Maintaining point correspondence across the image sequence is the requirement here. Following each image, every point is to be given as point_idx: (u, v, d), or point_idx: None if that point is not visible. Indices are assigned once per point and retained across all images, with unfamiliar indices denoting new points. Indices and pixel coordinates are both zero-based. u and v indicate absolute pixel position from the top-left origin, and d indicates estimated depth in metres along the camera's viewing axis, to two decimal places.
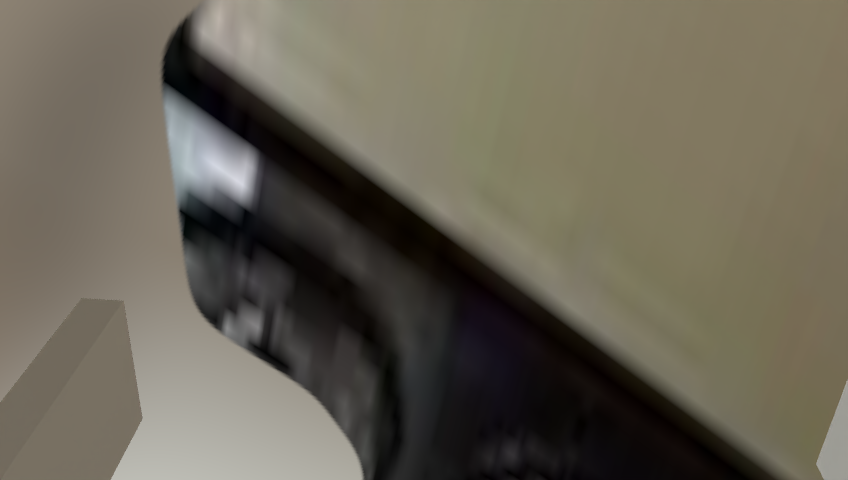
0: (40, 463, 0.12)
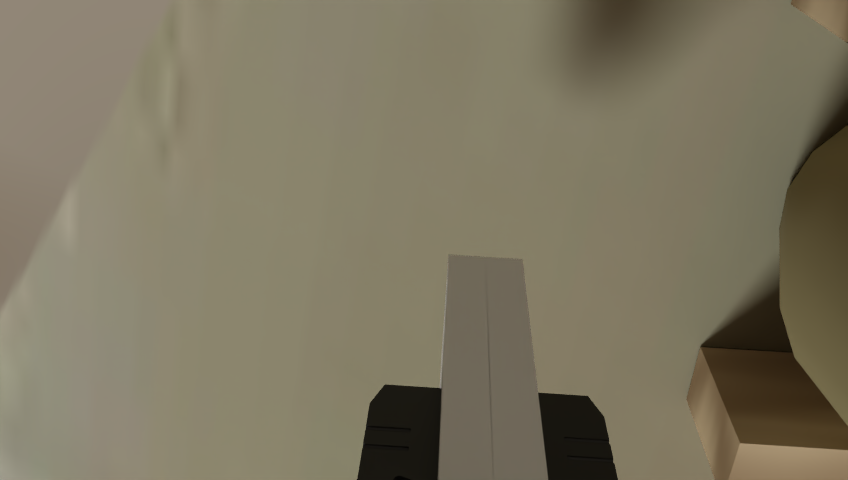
0: None
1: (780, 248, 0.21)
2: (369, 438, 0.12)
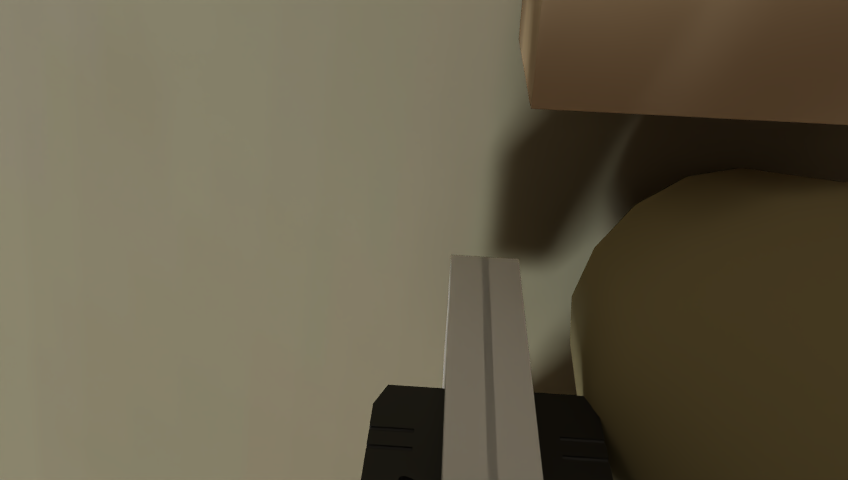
0: None
1: (575, 376, 0.16)
2: (372, 438, 0.12)
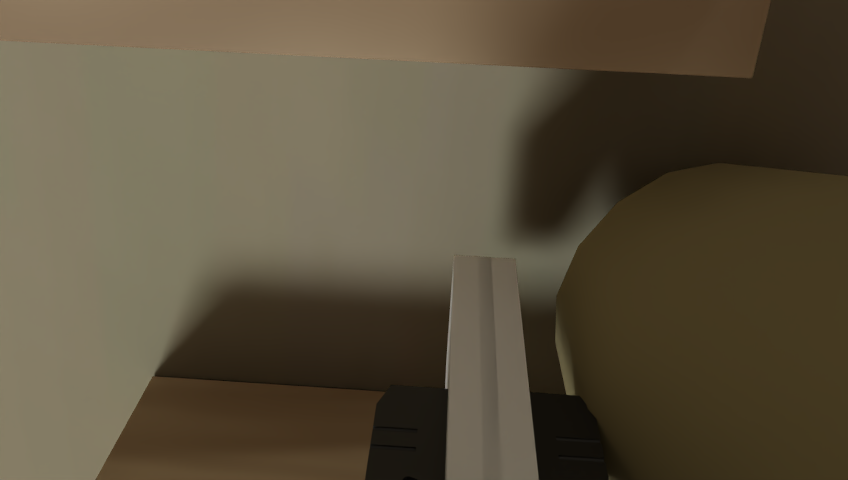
0: None
1: (563, 376, 0.16)
2: (376, 438, 0.12)
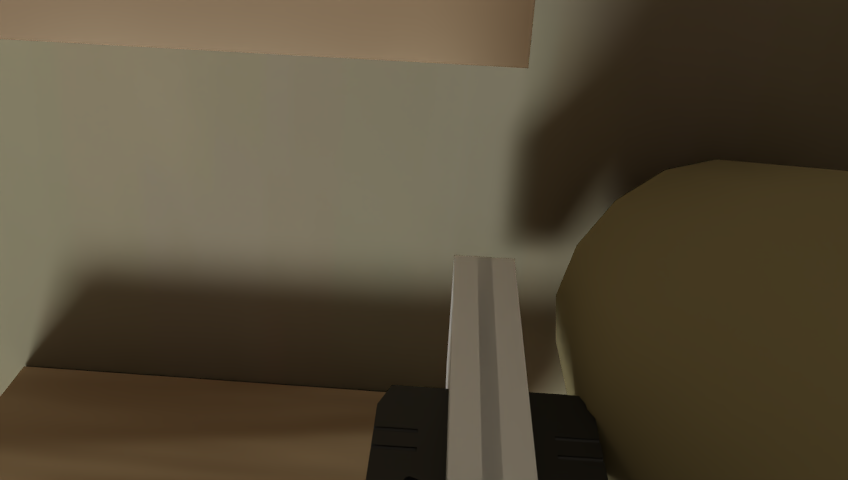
0: None
1: (564, 375, 0.16)
2: (377, 439, 0.12)
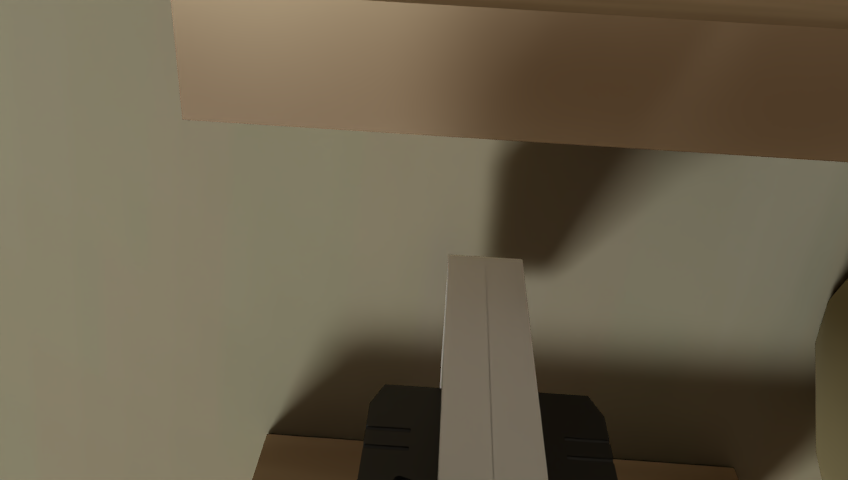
0: None
1: (816, 370, 0.17)
2: (369, 438, 0.12)
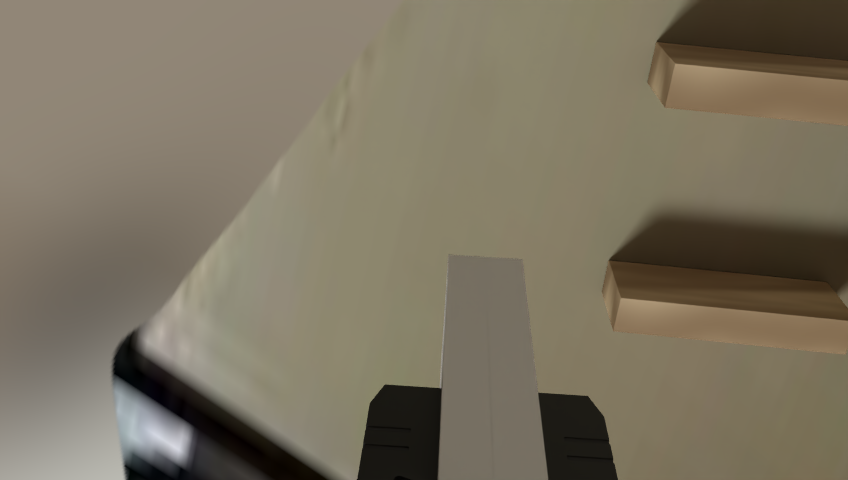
0: None
1: None
2: (369, 438, 0.12)
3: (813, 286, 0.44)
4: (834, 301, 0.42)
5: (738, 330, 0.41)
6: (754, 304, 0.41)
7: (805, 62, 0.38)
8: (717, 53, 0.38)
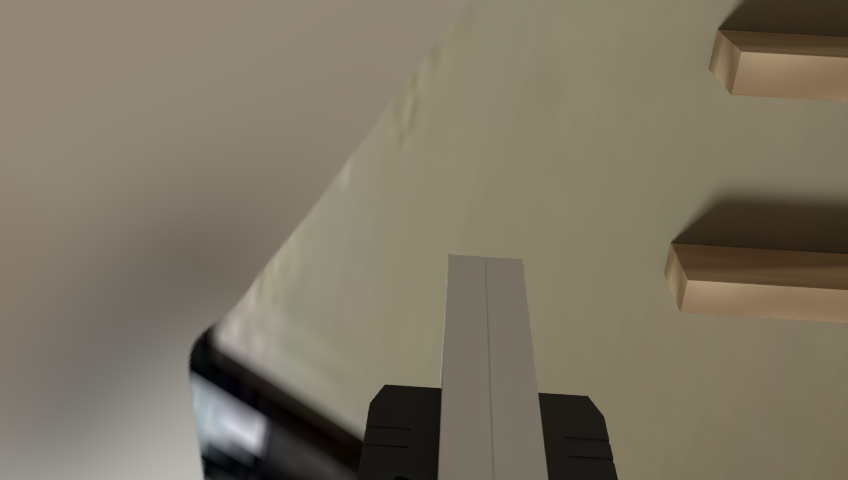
0: None
1: None
2: (369, 438, 0.12)
3: None
4: None
5: (802, 307, 0.42)
6: (818, 281, 0.42)
7: None
8: (779, 38, 0.39)
